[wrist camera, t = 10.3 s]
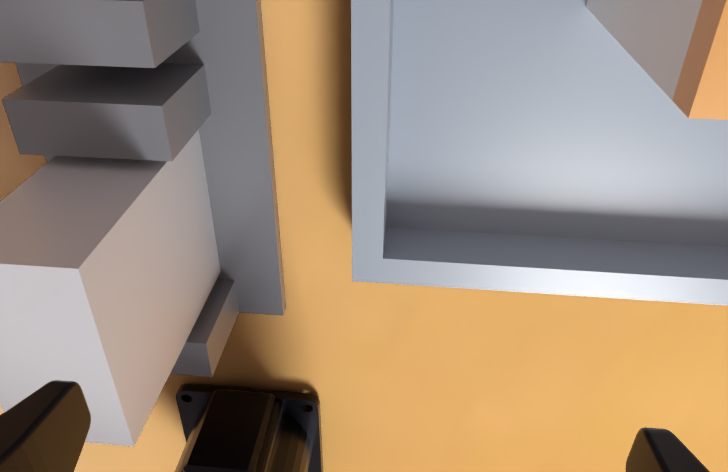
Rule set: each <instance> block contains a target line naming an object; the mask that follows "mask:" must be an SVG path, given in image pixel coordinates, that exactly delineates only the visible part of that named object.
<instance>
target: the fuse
mask: <svg viewBox="0 0 728 472" xmlns="http://www.w3.org/2000/svg"><path fill="white" fill-rule="evenodd" d="M220 272H221V271H220V264H219V258H218V251H217V245H216V238H215V232H214V225H213V219H212V212H211V206H210V199H209V193H208V186H207V180H206V173H205V167H204V160H203V154H202V147H201V141H200V134H199V129H198V131H197V132H196V133H195V134H194V135H193V137H192V138H191V139H190V140H189V142H188V143H187V144H186V145H185V146H184V148H183V149H182V150H181V151H180V153H179V154H178V155H177V156H176V157H175V159H174V160H173V161H152V160H132V159H113V158H93V157H73V156H54V157H53V158H52V159H51V160H50V161H48V162H47V163H46V164H45V165H43V166H42V167H41V168H40V169H39V170H37V171H36V172H35V173H34V174H33V175H31V176H30V177H29V178H28V179H27V180H25V181H24V182H23V183H22V184H21V185H19V186H18V187H17V188H16V189H15V190H13V191H12V192H11V193H10V194H9V195H7V196H6V197H5V198H4V199H3V200H1V201H0V405H1V407H2V409H3V411H4V412H6V411H7V410H9V409H10V408H12V407H13V406H15V405H16V404H17V403H19V402H20V401H22V400H23V399H25V398H26V397H28V396H29V395H31V394H32V393H34V392H35V391H36V390H38V389H39V388H41V387H42V386H44V385H45V384H47V383H48V382H51V381H53V380H63V381H74V382H77V383H78V384H79V385H80V386H81V389H82V391H83V394H84V397H85V400H86V403H87V405H88V408H89V411H90V414H91V424H90V428H89V432H88V434H87V437H86V440H85V442H89V443H101V444H112V445H123V446H135V444H136V442H137V440H138V437H139V435H140V433H141V431H142V429H143V427H144V425H145V423H146V421H147V419H148V417H149V415H150V413H151V411H152V409H153V407H154V405H155V403H156V401H157V399H158V397H159V395H160V393H161V391H162V389H163V387H164V385H165V383H166V381H167V379H168V377H169V375H170V373H171V371H172V369H173V367H174V365H175V363H176V361H177V359H178V357H179V355H180V353H181V351H182V348H183V346H184V344H185V342H186V340H187V338H188V336H189V334H190V332H191V330H192V328H193V326H194V324H195V322H196V320H197V318H198V316H199V314H200V312H201V310H202V308H203V306H204V304H205V302H206V300H207V298H208V296H209V294H210V292H211V290H212V288H213V286H214V284H215V282H216V280H217V278H218V276H219V274H220Z"/></svg>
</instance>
